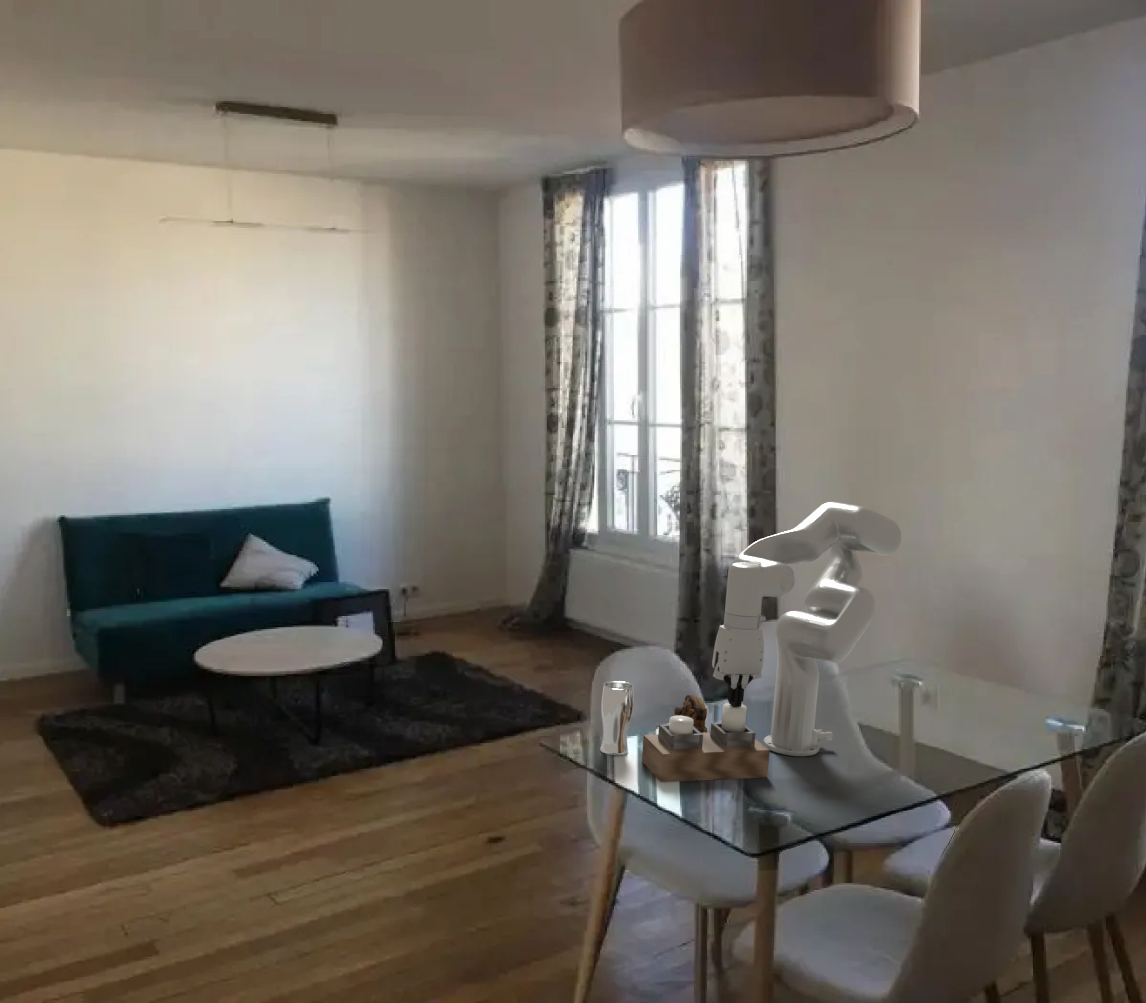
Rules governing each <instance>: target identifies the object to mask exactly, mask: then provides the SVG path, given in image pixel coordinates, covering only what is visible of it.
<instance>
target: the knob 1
mask: <svg viewBox="0 0 1146 1003" xmlns="http://www.w3.org/2000/svg"><path fill="white" fill-rule="evenodd" d="M693 721H694V720H693V719H692V718H690V717H687V716H674V715H673V716H670V717H669V731H670V732H671V733H672V734H693Z"/></svg>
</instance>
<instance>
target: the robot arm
mask: <svg viewBox="0 0 1146 1003" xmlns="http://www.w3.org/2000/svg"><path fill="white" fill-rule="evenodd" d="M901 541H902V531H901V528H900V526H899V524H898V523H897V522H896V521H895V520H893V519H892V518H890V517H888V516H886V515H883V514H882V513H880V512H878V511H876V510H873V509H871V508H869V507H866V506H862V505H858V504H851V503H845V502H838V501H828V502H825V503H822V504H821V505H820V506H818V507H817V508H815V509H814V510H813V511H812V512H811V513H810V514H809V515H808V516H807V517H805V518H804V519H803V520H802V521H801V522H799V523H798V524H797V525H795V527H794V528H792V529H789V530H786V531H783V532H779V533H776V534H773V535H770V536H766V537H764V538H760V539H758V540H757V541H755V542H753V543H751V544H750V545H748V546H747V547H746V548H745V549H743V550H742V552H740V553H739V554H738V555H737V556H736V557H735V559H734V560H733V561H732V564H730V565H729V567H728V571H727V572H728V573H727V583H726V592H725V593H726V594H725V605H724V606H725V608H724V610H725V611H724V618H723V624H722V625H721V624H720V625H719V627H718V631H717V634H716V639H715V642H714V649H713V655H712V660H711V661H712V662H711V663H712V668H713V669H714V671H713V674H712V677H714V679H716V680H720V681H724V682H725V684H726V685H727V687H728V688H727V697H726V698H727V702H728V703H729V704H731V705H732V706H733V707H737V706H738V707H741V705H742V703H743V702H744V697H745V696H744V694H745V690H746V689H747V687H748V685H749V683H750V684H751V682H752V681H754V680H758V679H761V678H762V671H763V668H764V657H765V656H764V652H765V650H764V636H763V629H762V627H761V624H762V623H766V621H767V617H766V615H762V605H763V604H762V602H763V598H764V597H771V598H781V597H784V596H786V595H787V594H789V593H790V592H791V591H792V590H793V588H794V586H795V583H796V575H795V571H794V570H793V568H792V567H791V566H790V565H798V564H806V563H810V562H814V561H817V559H819V558H820V557H821V556H823V554H825V553H826V552H827V551H828V550H829V560H828V562H827V565H826V566H825V568H824V569H823V570H822V572H821V574H819V576H818V577H817V578H816V580H815V581H814V583H813V584H812V585H811V587H810V588H809V589H808V592H807V593H806V595H805V596H804V600H803V606H804V610H805V611H801V610H790V611H786V612H785V613H783V614H782V615H781V616H780V617H779V618H778V619H777V622H776V625H775V643H776V654H777V655H776V657H777V659H776V661H777V662H776V672H775V673H776V676H775V685H774V695H773V696H774V697H773V698H774V699H773V709H772V721H771V732H770V734H769V735H767V736H765V737H764V738H763V742H762V744H763V745H764V746H765V747H767V748H768V749H769V750H770V751H772V752H774V753H777V754H780V755H785V756H791V757H808V756H813V755H816V754H819V752H820V745H819V743H820V742H821V741H832V740H833V739H834V733H833V732H832V731H823V729H816V728H815V722H816V714H817V712H816V711H817V702H818V701H817V700H818V692H819V683H820V682H819V680H820V672H819V668H818V665H817V662H816V660H820V661H823V662H827V663H831V664H832V663H833V664H837V663H840V662H842V661H844V660H846V659H847V657H848V656H849V655H850V653H851V652H852V650H853V649H854V647H855V646H856V645H857V643H858V641H859V640H860V639H861V637H862V636H863V634H864V633H865V632H866V630H867V629H868V627H869V626H870V624H871V622H872V619H873V617H874V615H875V609H876V601H875V600H876V599H875V596H874V595H873V593H872V592H871V591H870V590H869V589H868V588H865V587H864V586H859V585H860V583H861V581H862V579H863V570H862V566H861V564H860V561H859V559H858V555H857V552H861V553H867V554H872V555H877V556H884V557H886V556H891V555H892V554H894V553H895V552H896V551H897V550H898V549H899V547H900V545H901Z"/></svg>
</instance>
